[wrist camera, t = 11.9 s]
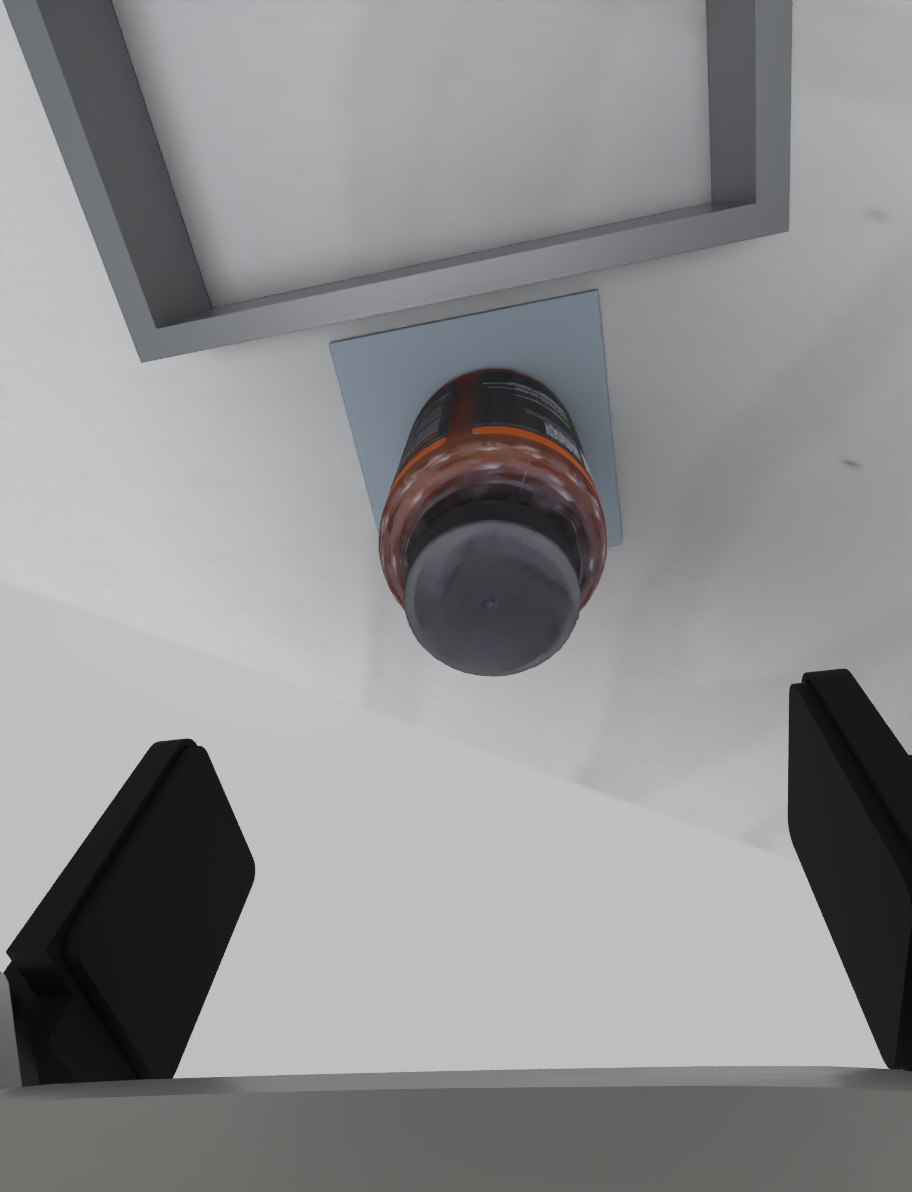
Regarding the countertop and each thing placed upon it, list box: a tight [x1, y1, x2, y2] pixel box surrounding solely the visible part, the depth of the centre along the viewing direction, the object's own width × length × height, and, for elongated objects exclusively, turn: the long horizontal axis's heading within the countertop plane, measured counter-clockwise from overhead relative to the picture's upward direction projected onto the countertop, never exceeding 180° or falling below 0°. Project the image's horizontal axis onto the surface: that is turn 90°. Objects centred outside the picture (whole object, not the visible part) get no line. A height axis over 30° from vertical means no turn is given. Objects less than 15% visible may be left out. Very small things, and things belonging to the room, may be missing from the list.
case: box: [3, 0, 792, 363], centre depth 20 cm, size 11×18×4 cm, turn 101°
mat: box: [329, 289, 622, 546], centre depth 26 cm, size 9×9×1 cm
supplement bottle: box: [379, 369, 607, 676], centre depth 21 cm, size 6×6×11 cm
